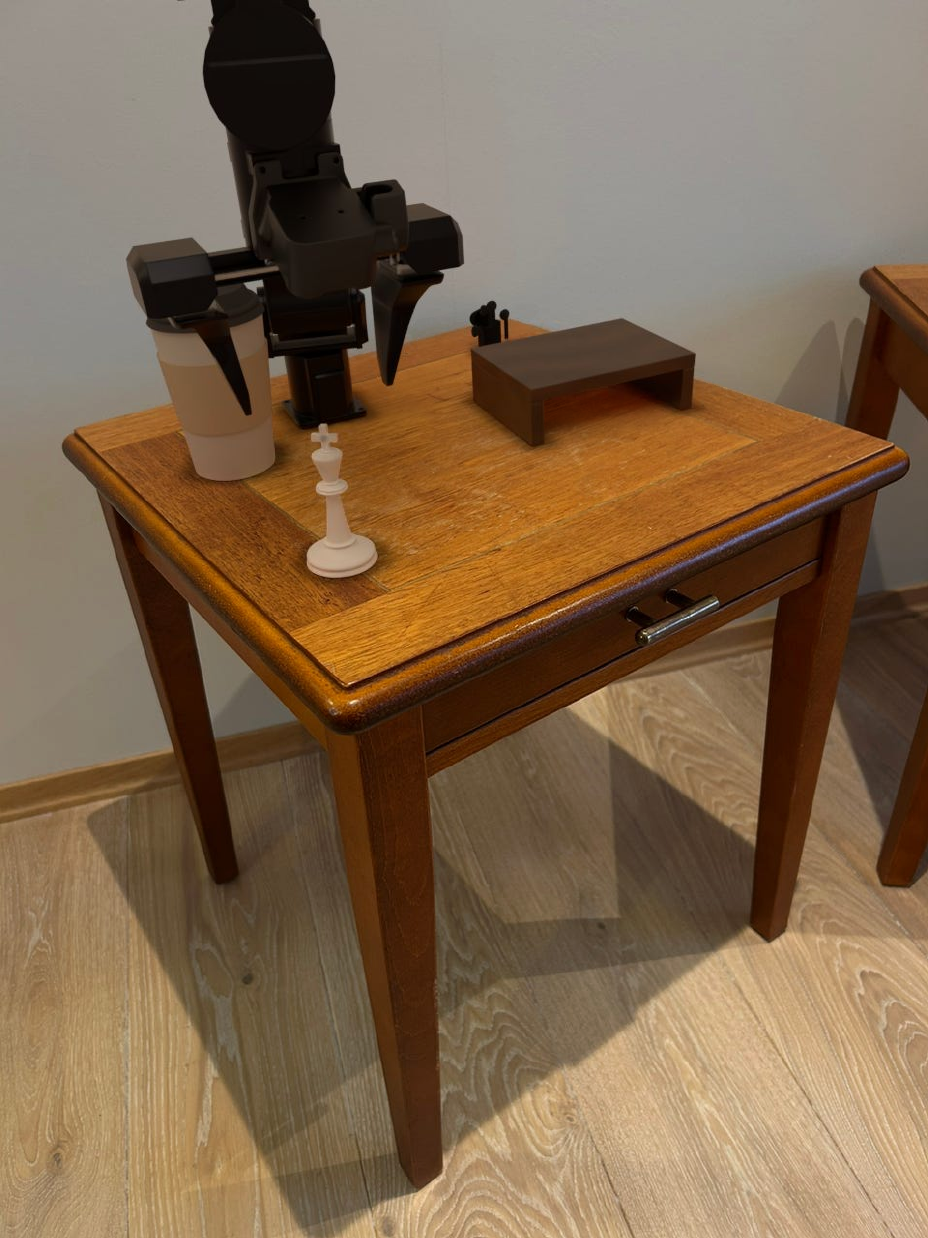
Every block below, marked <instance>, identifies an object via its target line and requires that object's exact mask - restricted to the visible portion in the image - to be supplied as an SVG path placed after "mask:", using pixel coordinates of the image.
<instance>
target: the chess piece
mask: <svg viewBox="0 0 928 1238" xmlns="http://www.w3.org/2000/svg"><path fill="white" fill-rule="evenodd" d="M317 426H318V432H312V433H311V434H310V441H311V442H312V443H313V442H314V443H320V448H318V449H316V450H314V451H313V452H312V453H311V460H312V462H313V464H314V466H315V467H316V469H317V471H318V473H319V475H320V477H321V479H322V480H321V481H318V483H317V484H316V486H315V492H316V493H317V494H318V495H320V496H324V497H325V507H326V510H325V511H326V535H325V536H323V538H321V539H319V540H318V541H315V542H314V543H313V544H312V545H311V546H310V547H309V549H308V550H307V552H306V566H307V568H308V570H309V571H310V572H311V573H313V574H315V575H317V576H320V577H323V578H330V579H331V578H332V579H341V578H348V577H349V578H350V577H353V576H357V575H359V574H362V573H364V572H366V571H367V570H370V569H371V568H372V567H373V566H374V565H375V564H376V562H377V560H378V552H377V549H376V545H375V543H374V542H373V541H372V540H371V539H370V538H368V537H366V536H364V535H361V534H357V533H354V532H352V531H351V529H350V526H349V523H348V519H347V515H346V512H345V509H344V505H343V500H342V496H341V494H343V493H345V492H346V491H347V490H348V489H349V485H348V483H347V481H346V480H345V479H343V478H340V477H339V476H340V470H341V465H342V461H343V454H344V453H343V451H342V450H341V449H340V448H339V447H334V446H331V443H337V442H338V441H339V434H338V433H337V432H336V433H335V432H329V428H328V423H325V424H320V425H317Z"/></svg>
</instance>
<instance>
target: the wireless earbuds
mask: <svg viewBox="0 0 928 1238" xmlns="http://www.w3.org/2000/svg"><path fill="white" fill-rule="evenodd" d="M497 306H498V305H497V302H496V301H495V300H490V301H487V303H486V304H482V305H481V306H480V308H477V309H476V310H474V311H472V312H471V314H470V315H469V318H468V319H469V323H470V325H471V329H470V334H471V337H473V338H476V337H477V342H478V343H477V344H478V346H477V347H481V346H486V345H491V344H496V343H501V342H502V325H501V323H502V321H503V333H504V334H503V337H504V340H509V338H510V337H509V336H510V335H509V317H510V311H509V310H508V309H507V308H504V309H501V310H500V311H499V314H498V317H499V318H500V319H501V320H499V319H496V310H497Z"/></svg>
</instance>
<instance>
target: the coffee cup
mask: <svg viewBox="0 0 928 1238" xmlns="http://www.w3.org/2000/svg"><path fill="white" fill-rule="evenodd" d="M217 290H218V295H217V297H216V298H215V300H216V301H217V303H218V304H219V305H220V306H221V307H222V308H223V310H224V311H225V312H226V313H227V314H228V319H229V326H230V332H231V337H232V340H233V343H234V346H235V350H236V353H237V356H238V359H239V363H240V366H241V369H242V372H243V375H244V379H245V382H246V385H247V388H248V392H249V396H250V403H251V409H252V415H249V416H246V415H245V414H244V412H243V411H242V409H241V407H240V405H239V404H238V402H237V400H236V398H235V396H234V395H233V393H232V391H231V389H230V387H229V386H228V384H227V382H226V380H225V378H224V377H223V375H222V373H221V371H220V369H219V368H218V366H217V364H216V362H215V360H214V359H213V357H212V355H211V353H210V352H209V350H208V348H207V346H206V345H205V343H204V342H203V340H202V339H201V338H200V336H199V335H198V334H197V332H196V331H195V330H194V329H192V328H190V329H176V328H174V327H173V326H172V324H171V322H170V321H169V319H168V318H163V319H151V318H147V317H146V319H145V320H146V321H145V325H146V327H148V328H149V329H150V331H151V335H152V339H153V341H154V345H155V347H156V358H157V360H158V364H159V366H160V370H161V373H162V376H163V377H164V379H163V380H164V381H165V385H166V388H167V391H168V394H169V396H170V400H171V403H172V406H173V408H174V411H175V414H176V418H177V421H178V424H179V426H180V428H182V432H183V435H184V438H185V441H186V444H187V447H188V448H187V449H188V451H189V454H190V457H191V460H192V464H193V466H194V469H195V472H196V474H197V475H199V476H200V477H201V478H203V479H207V480H209V481H210V480H211V481H217V482H228V481H237V480H238V481H239V480H244V479H248V478H252V477H254V476H257V475H260V474H262V473H264V472H266V471H268V470H269V468H271V467H272V466H273V465H274V464H275V462H276V449H275V437H274V430H273V429H274V427H273V416H272V414H273V400H272V399H273V397H272V386H271V373H270V362H269V358H268V347H267V339H266V338H265V337H264V329H263V318H262V313H263V312H264V306H263V305H262V304H261V302H260V301H259V298H258V295H257V292H256V291H254V290H252V289H250V288H248V287H247V286H246V283H241V284H235V285H229V286H223V287H217Z"/></svg>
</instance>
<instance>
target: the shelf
mask: <svg viewBox="0 0 928 1238" xmlns="http://www.w3.org/2000/svg"><path fill="white" fill-rule="evenodd" d="M696 356H697V354H696V352H694V351H692V350H689V349H688V348H685V347H683V346H682V345H679V344H677V343H675V342H674V341H671V340H669V339H666V338H664V337H663V336H660V335H659V334H656V333H654V332H652V331H651V330H648V329H647V328H644V327H642V326H640V325H638V324H635V323H634V322H631V321H629V320H627V319H625V318H623V317H621V318H616V319H615V318H614V319H611V320H606V321H600V322H595V323H592V324H586V325H581V326H576V327H575V326H574V327H571V328H566V329H560V330H556V331H551V332H547V333H542V334H541V333H540V334H537V335H536V334H535V335H532V336H527V337H522V338H517V339H511V340H507V341H501V343H496V344H491V345H486V346H481V347H479V346H477V347H472V348H470V364H471V383H472V384H471V385H472V386H471V387H472V399H473V400H472V401H473V402H474V403H475V404H476V405H478V406H479V407H481V409H483V410H485V411H486V412H487V413H488V414H489V415H491V416H492V417H493V418H495V419H496V420H497V421H499V422H500V423H501V424H503V425H504V426H505V427H506V428H507V429H509V430H510V431H511V432H513V433H514V434H515V435H517V436H518V437H519V438H521V439H522V440H523V441H524V442H525V443H527V444H528V445H529V446H531V447H537V446H539V445H544V444H545V401H549V400H552V399H557V398H562V397H567V396H571V395H574V394H575V395H576V394H579V393H583V392H588V391H593V390H597V389H601V388H606V387H610V386H614V385H615V386H616V385H619V384H623V383H628V382H630V383H631V384H633V385H635V386H637V387H639V388H640V389H642V390H644V391H645V392H647V393H649V394H651V395H652V396H654V397H656V398H658V399H659V400H661V401H663V402H665V403H666V404H668V405H670V406H672V407H673V408H675V409H677V410H679V411H684V410H689V409H691V408H692V405H693V394H694V380H695V367H696V359H697V358H696Z"/></svg>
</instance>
